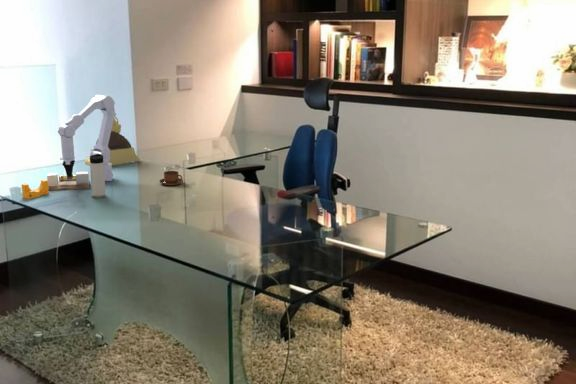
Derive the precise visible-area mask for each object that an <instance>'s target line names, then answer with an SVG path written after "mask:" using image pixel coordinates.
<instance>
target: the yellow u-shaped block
mask: <svg viewBox="0 0 576 384" xmlns="http://www.w3.org/2000/svg"><path fill="white" fill-rule="evenodd" d="M21 193H22V194H21V195H22V199H27V200H29V199H34V198H38V197H39V198H40V197H41V196H43V195H47V194H49V193H50V191H48V181H47V179H43V180H40V185H39V186H38V187H37V188H36V189H33V190H32V189H31V188H30V186H29V184H28V183H22V184H21Z"/></svg>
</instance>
